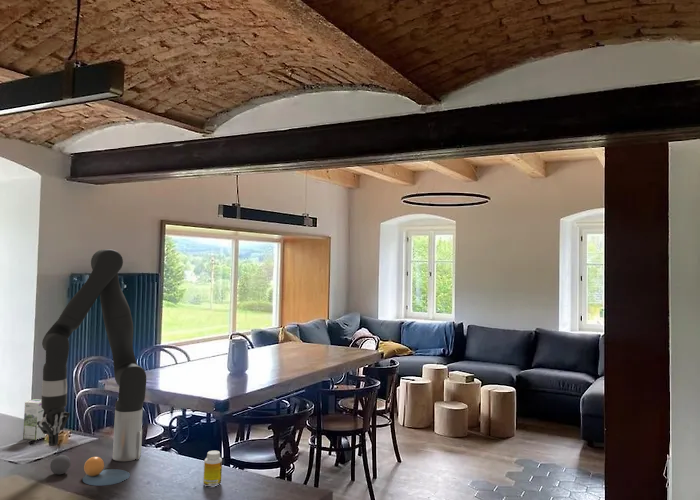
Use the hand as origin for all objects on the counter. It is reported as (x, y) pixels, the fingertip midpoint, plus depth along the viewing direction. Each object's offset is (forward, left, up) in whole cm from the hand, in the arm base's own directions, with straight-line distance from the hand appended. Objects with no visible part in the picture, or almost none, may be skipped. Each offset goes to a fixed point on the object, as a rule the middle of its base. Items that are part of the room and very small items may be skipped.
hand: (53, 445), depth 187 cm
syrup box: (+16, -38, -8) cm, 42 cm away
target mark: (-19, +9, -8) cm, 22 cm away
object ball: (-14, +7, -5) cm, 17 cm away
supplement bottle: (-52, +20, -8) cm, 56 cm away
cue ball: (-3, +4, -5) cm, 7 cm away
